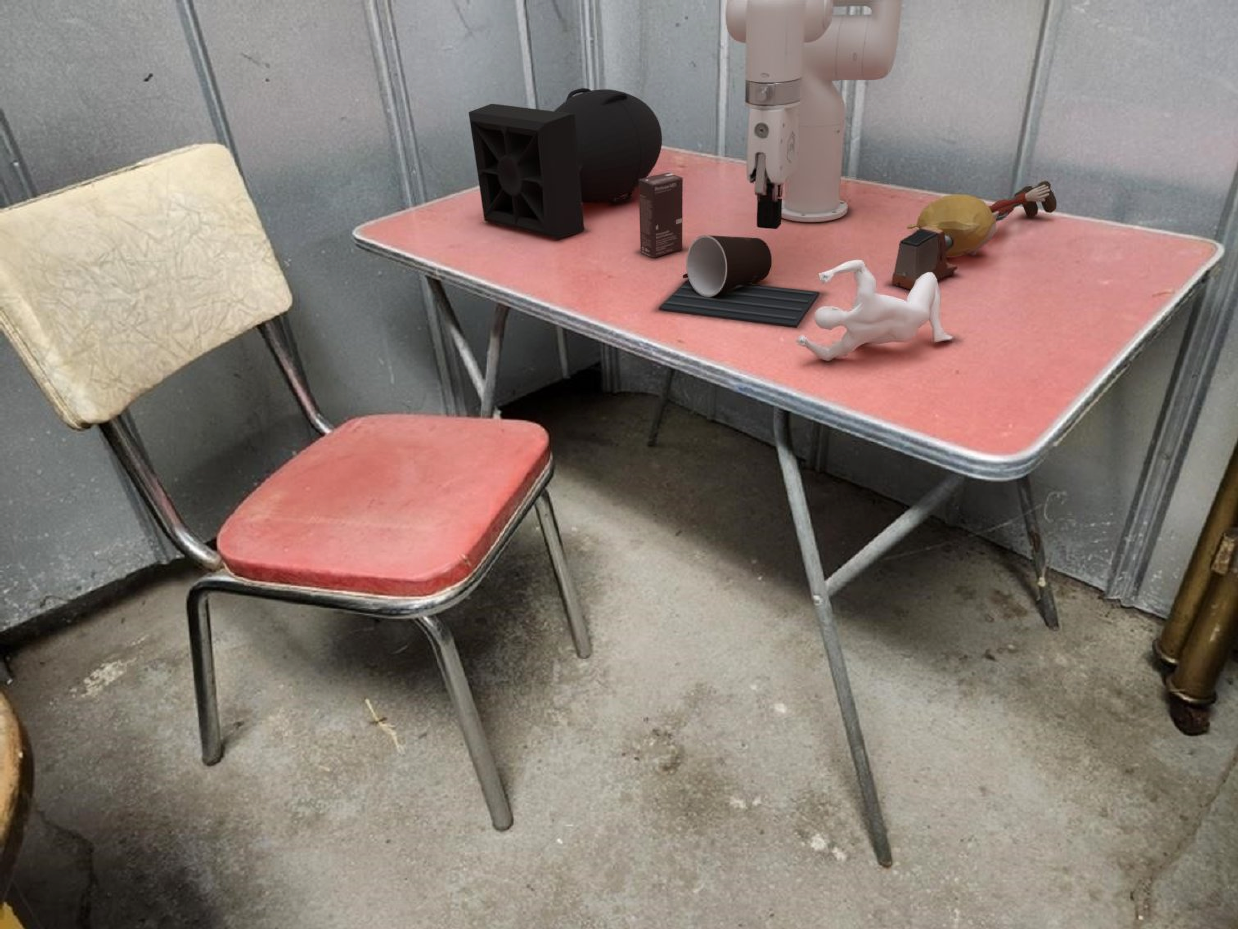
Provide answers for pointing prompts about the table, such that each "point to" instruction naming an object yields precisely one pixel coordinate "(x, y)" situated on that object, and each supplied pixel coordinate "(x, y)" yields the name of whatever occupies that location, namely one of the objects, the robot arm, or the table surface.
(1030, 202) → the toy
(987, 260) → the table surface
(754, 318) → the drying mat
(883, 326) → the person figurine
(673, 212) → the box
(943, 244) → the electronic device
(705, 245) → the coffee mug
